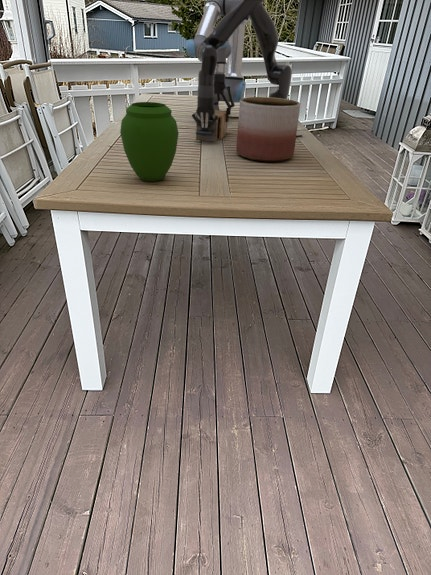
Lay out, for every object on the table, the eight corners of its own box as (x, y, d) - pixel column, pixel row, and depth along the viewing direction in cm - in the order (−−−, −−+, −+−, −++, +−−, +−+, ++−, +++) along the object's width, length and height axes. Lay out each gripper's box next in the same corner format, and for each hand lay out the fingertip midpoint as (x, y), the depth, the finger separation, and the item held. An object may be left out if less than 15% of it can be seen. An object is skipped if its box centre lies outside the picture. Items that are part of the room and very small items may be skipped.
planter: (301, 163, 172) (310, 106, 161) (242, 163, 168) (247, 105, 157) (283, 148, 194) (289, 97, 182) (230, 148, 189) (234, 96, 178)
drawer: (213, 144, 191) (214, 123, 187) (193, 142, 193) (193, 121, 188) (222, 135, 209) (223, 115, 204) (203, 133, 210) (203, 114, 205)
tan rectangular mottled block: (220, 140, 203) (221, 116, 198) (199, 138, 205) (199, 114, 199) (226, 133, 217) (227, 110, 212) (206, 131, 219) (207, 109, 213)
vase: (131, 189, 135) (125, 110, 122) (118, 172, 150) (112, 100, 137) (186, 184, 142) (187, 109, 129) (169, 168, 157) (167, 99, 144)
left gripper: (192, 72, 199) (192, 120, 211) (240, 75, 196) (236, 123, 207) (196, 71, 205) (195, 117, 217) (242, 74, 202) (239, 121, 214)
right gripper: (189, 95, 182) (189, 136, 191) (218, 98, 180) (217, 138, 189) (193, 93, 188) (193, 133, 197) (221, 95, 186) (220, 135, 195)
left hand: (215, 120), depth 212 cm, fingers closed on tan rectangular mottled block, 11 cm apart
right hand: (204, 135), depth 193 cm, fingers closed
